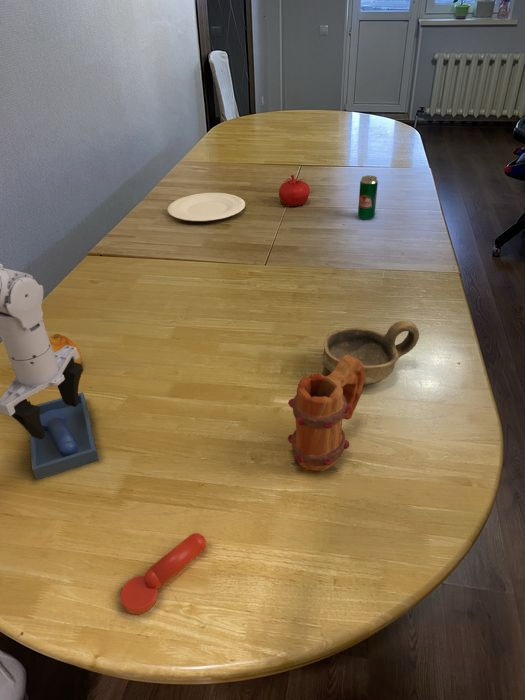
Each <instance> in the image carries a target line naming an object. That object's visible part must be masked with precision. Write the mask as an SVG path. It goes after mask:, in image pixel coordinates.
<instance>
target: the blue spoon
mask: <svg viewBox="0 0 525 700" xmlns="http://www.w3.org/2000/svg"><path fill="white" fill-rule="evenodd" d="M40 420H41V424H42V427H43V430H45V431H50V433H51V435H52V437H53V439H54V441H55V443H56V445H57V447H58V449H59V451H60V453H61V454H62V455H64V456H70V455H73V454H74V453H75V452H76V449H77V445H76V443H75V441H74V439H73V437H72V435H71V434H70V432H69V430H68V428H67V426H66V424H65V423H66V420H67V418H66V415H65V413H64V411H62V410H59V409H53V410H49V411H47V412H45V413H44V414H42V415H41V417H40Z"/></svg>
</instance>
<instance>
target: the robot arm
mask: <svg viewBox="0 0 525 700" xmlns="http://www.w3.org/2000/svg"><path fill="white" fill-rule="evenodd" d="M43 300H44V287H43V285H42V284H38V282H37V280H36V279H35V278H34V276H33V275H32V274H29V273H27V272H22V271H19V270H13V269H10V268H5V267H4V265H3V264H2V263H0V339H1V341H2V343H3V346H4V348H5V352H6V353H7V356H8V359H9V362H10V363H11V366H12V369H13V371H14V374H15V378H14V379H13V380H12V382H11V383H10V385H9V386H8V388H7V389H6V391H5V392H4V393H3V395H1V397H0V414H1V415H4V416H8V417H12V418H13V419H14V420H15V421H17V422H18V423H19V424H20V425H21V426H22V427H23V429H25V430H26V431H27V433H29V436H30V435H31V436H32V437H35V438H38V439H43V438H44V437H45V433H44V430H43V427H42V424H41V420H40V407H39V406H35V405H36V404H32V403H31V401H28V399H29V398H30V397H32V396H34V395H36V394H38V393H40V392H41V391H43V390H45V389H47V388H49V387H57V389H58V391H59V394H60V398H62V399H63V401H64V403H65V404H67V405H70V406H73V407H76V406H77V405H78V393H79V385H80V380H81V377H82V374H83V372H84V367H83V364H82V363H81V364H79V363H75V362H74V361H75V360H77V359H78V358H79V355H78V352H77V348H76V347H71V346H67V345H66V346H65V347H63V348H62V349H60V350H58V351H57V352H55V353H54V352H53V349H52V346H51V343H50V340H49V337H50V336H49V335H48V331H47V329H46V326H45V323H44V320H43V319H44V318H43V316H44V312H43V308H42V305H43V304H42V303H43Z"/></svg>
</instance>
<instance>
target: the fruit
mask: <svg viewBox="0 0 525 700" xmlns="http://www.w3.org/2000/svg"><path fill="white" fill-rule="evenodd" d="M48 337H49V340H50V343H51V346H52V349H53V352H54V353H55V352H57V351H58V350H60V349H62V348H63V347H65V346H66V345H67V346H71V347H76V348H77V352H78V355H79V358H78V359H77V360H75V361H74V362H75V363H79V364H81V365H82V352H81V350H80V348H79V346H78V345H77V343H75V341H74V340H72V339H71V338H69V337H67V336H65V335H62V334H59V333H54V334H51V336H48Z"/></svg>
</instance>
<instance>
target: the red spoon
mask: <svg viewBox="0 0 525 700" xmlns="http://www.w3.org/2000/svg"><path fill="white" fill-rule="evenodd" d="M206 546H207V541H206V538H205V536H204V535H203V534H202V533H199V532H193V533H191V534H190V535H188V536H187V537H186V538H184V540H182V541H181V542H179V543H178V544H177V545H176V546H175V547H173V548H172V549H171V550H170V551H168V552H167V553H166V554H165V555H163V556H162V557H160V558H159V560H157V561H156V562H155V563H154V564H152V565H151V566H150V567H149V568H147V570H146V571H144V574H143V575H138V576H134V577H132V578H130V579H129V580H128V581H127V582H126V583H125V584H124V585H123V587H122V588H121V592H120V601H121V604H122V607H123V609H124V610H125V611H126V612H127V613H129V614H131V615H141V614H144V613H146V612H148V611H150V610H151V609H152V608H153V606H154V605H155V604H156V601H157V600H158V589H159V588H161V587H163V586H164V585H165V584H166V583H167V582H169V581H170V580H171V579H172V578H174V577H175V576H176V575H177V574H178V573H180V571H182V570H183V569H184V568H186V567H187V565H189V564H190V563H191V562H192V561H193V560H194V559H195V558H197V557H198V556H200V555H201V554H202V553H203V552H204V550H205V549H206Z"/></svg>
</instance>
